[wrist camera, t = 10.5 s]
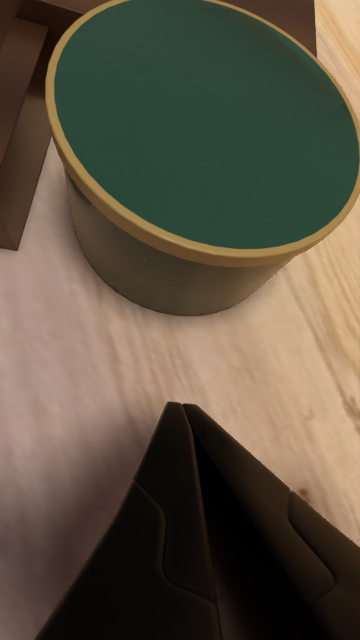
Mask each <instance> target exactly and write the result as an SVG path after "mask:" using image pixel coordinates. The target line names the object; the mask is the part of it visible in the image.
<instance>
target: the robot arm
mask: <svg viewBox="0 0 360 640" xmlns="http://www.w3.org/2000/svg"><path fill="white" fill-rule="evenodd" d="M34 640H360V547H359V546H357V545H356V544H355V543H354V542H353V541H351V540H350V539H349V538H348V537H346V536H345V535H344V534H343V533H341V532H340V531H339V530H338V529H337V528H335V527H334V526H333V525H332V524H330V523H329V522H328V521H327V520H326V519H325V518H323V517H322V516H321V515H320V514H319V513H318V512H316V511H315V510H314V509H313V508H312V507H311V506H310V505H308V504H307V503H306V502H305V501H304V500H303V499H302V498H301V497H299V496H298V495H297V494H296V493H295V492H294V491H292V492H291V490H290V488H289V487H288V486H286V485H285V484H284V483H283V482H282V481H281V480H280V479H279V478H278V477H276V476H275V475H274V474H273V473H272V472H271V471H270V470H269V469H268V468H266V467H265V466H264V465H263V464H262V463H261V462H260V461H259V460H258V459H256V458H255V457H254V456H253V455H252V454H251V453H250V452H249V451H248V450H246V449H245V448H244V447H243V446H242V445H241V444H240V443H239V442H238V441H236V440H235V439H234V438H233V437H232V436H231V435H230V434H229V433H227V432H226V431H225V430H224V429H223V428H222V427H221V426H220V425H219V424H217V423H216V422H215V421H214V420H213V419H212V418H211V417H210V416H209V415H207V414H206V413H205V412H204V411H203V410H202V409H201V408H200V407H199V406H197V405H195V404H186V403H184V404H181V403H178V402H167V403H166V405H165V408H164V410H163V412H162V414H161V416H160V419H159V421H158V423H157V425H156V428H155V430H154V432H153V434H152V436H151V439H150V441H149V443H148V445H147V448H146V450H145V452H144V454H143V456H142V459H141V461H140V463H139V465H138V468H137V470H136V472H135V474H134V476H133V479H132V481H131V482H130V485H129V487H128V489H127V491H126V494H125V496H124V498H123V500H122V502H121V503H120V505H119V507H118V509H117V511H116V513H115V515H114V517H113V518H112V520H111V522H110V523H109V525H108V527H107V528H106V530H105V532H104V533H103V535H102V537H101V538H100V540H99V541H98V543H97V544H96V546H95V547H94V549H93V550H92V552H91V554H90V555H89V557H88V558H87V560H86V561H85V563H84V564H83V566H82V567H81V569H80V570H79V572H78V573H77V575H76V576H75V578H74V579H73V581H72V582H71V584H70V586H69V587H68V589H67V590H66V592H65V593H64V595H63V596H62V598H61V599H60V601H59V602H58V604H57V605H56V607H55V608H54V610H53V611H52V613H51V614H50V616H49V618H48V619H47V621H46V622H45V624H44V625H43V627H42V628H41V630H40V631H39V633H38V634H37V636H36V637H35V639H34Z"/></svg>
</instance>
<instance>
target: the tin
mask: <svg viewBox="0 0 360 640" xmlns="http://www.w3.org/2000/svg"><path fill="white" fill-rule="evenodd" d="M45 102H46V107H47V113H48V118H49V123H50V128H51V133H52V137H53V140H54V143H55V146H56V149H57V152H58V154H59V157H60V158H61V160H62V162H63V166H64V172H65V177H66V183H67V189H68V194H69V200H70V205H71V211H72V216H73V222H74V227H75V233H76V236H77V239H78V242H79V244H80V247H81V249H82V251H83V253H84V255H85V257H86V259H87V260H88V261H89V263H90V264H91V266H92V267H93V269H94V270H95V271H96V272H97V273H98V274H99V276H100V277H101V278H102V279H103V280H104V281H105V282H106V283H107V284H109V285H110V286H111V287H112V288H113V289H115V290H116V291H117V292H118V293H120V294H122V295H123V296H125V297H126V298H128V299H129V300H131V301H133V302H135V303H137V304H140V305H142V306H144V307H147V308H150V309H153V310H155V311H159V312H163V313H168V314H173V315H186V316H191V315H204V314H210V313H215V312H218V311H221V310H224V309H227V308H230V307H232V306H234V305H236V304H238V303H240V302H241V301H243V300H244V299H245V298H247V297H248V296H250V295H251V294H252V293H253V292H254V291H256V290H257V289H258V288H259V287H260V286H261V285H262V284H264V283H265V282H266V281H267V280H268V279H269V278H271V277H272V276H273V275H274V274H275V273H276V272H277V271H279V270H280V269H281V268H282V267H283V266H284V265H286V264H287V263H288V262H289V261H290V260H291V259H293V258H294V257H295V256H297V255H299V254H301V253H303V252H305V251H307V250H309V249H310V248H311V247H313V246H314V245H316V244H317V243H319V242H320V241H321V240H323V239H324V238H325V237H326V236H327V235H329V234H330V233H331V232H332V231H333V230H334V229H335V228H336V227H337V226H338V225H339V224H340V223H341V222H342V221H343V220H344V219H345V218H346V216H347V215H348V213H349V212H350V211H351V209H352V208H353V206H354V204H355V202H356V199H357V197H358V195H359V193H360V126H359V123H358V120H357V117H356V114H355V112H354V110H353V108H352V106H351V104H350V102H349V100H348V98H347V97H346V95H345V93H344V92H343V90H342V88H341V87H340V85H339V84H338V83H337V81H336V80H335V79H334V77H333V76H332V75H331V73H330V72H329V71H328V70H327V69H326V68H325V66H324V65H323V64H322V63H321V62H320V61H319V60H318V59H317V58H316V57H315V56H314V55H313V54H312V53H311V52H310V51H309V50H308V49H307V48H305V47H304V46H303V45H302V44H300V43H299V42H298V41H297V40H295V39H294V38H293V37H292V36H290V35H289V34H287V33H286V32H284V31H283V30H281V29H280V28H278V27H277V26H275V25H273V24H271V23H270V22H268V21H266V20H264V19H263V18H261V17H259V16H257V15H255V14H252V13H250V12H248V11H246V10H244V9H241V8H239V7H236V6H233V5H231V4H228V3H225V2H221V1H218V0H112V1H109V2H107V3H104V4H102V5H100V6H98V7H96V8H94V9H92V10H90V11H89V12H87V13H86V14H84V15H83V16H82V17H80V18H79V19H78V20H76V21H75V22H74V23H73V24H72V25H71V26H70V28H69V29H68V30H67V31H66V32H65V33H64V34H63V36H62V37H61V39H60V40H59V42H58V43H57V45H56V47H55V49H54V51H53V54H52V56H51V59H50V61H49V64H48V70H47V75H46V80H45Z"/></svg>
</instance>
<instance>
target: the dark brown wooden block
mask: <svg viewBox="0 0 360 640" xmlns="http://www.w3.org/2000/svg"><path fill="white" fill-rule="evenodd" d="M109 1H112V0H0V247H2V248H8V249H13V250H17V249H18V245H19V242H20V239H21V235H22V232H23V229H24V225H25V222H26V218H27V215H28V212H29V208H30V205H31V202H32V198H33V195H34V191H35V188H36V185H37V181H38V178H39V174H40V171H41V168H42V164H43V161H44V158H45V154H46V151H47V147H48V144H49V141H50V137H51V134H52V133H51V128H50V123H49V118H48V113H47V107H46V102H45V80H46V75H47V70H48V64H49V61H50V59H51V56H52V54H53V51H54V49H55V47H56V45H57V43H58V42H59V40H60V39H61V37H62V36H63V34H64V33H65V32H66V31H67V30H68V29H69V28H70V26H71V25H72V24H73V23H74V22H75V21H76V20H78V19H79V18H80V17H82V16H83V15H84V14H86V13H87V12H89V11H90V10H92V9H94V8H96V7H98V6H100V5H102V4H104V3H107V2H109ZM218 1H221V2H225V3H228V4H231V5H233V6H236V7H239V8H241V9H244V10H246V11H248V12H250V13H252V14H255V15H257V16H259V17H261V18H263V19H264V20H266V21H268V22H270V23H271V24H273V25H275V26H277V27H278V28H280V29H281V30H283V31H284V32H286V33H287V34H289V35H290V36H292V37H293V38H294V39H295V40H297V41H298V42H299V43H300V44H302V45H303V46H304V47H305V48H307V49H308V50H309V51H310V52H311V53H312V54H313V55H314V56H315V57H316V58H317V49H316V29H315V8H314V0H218Z"/></svg>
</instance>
